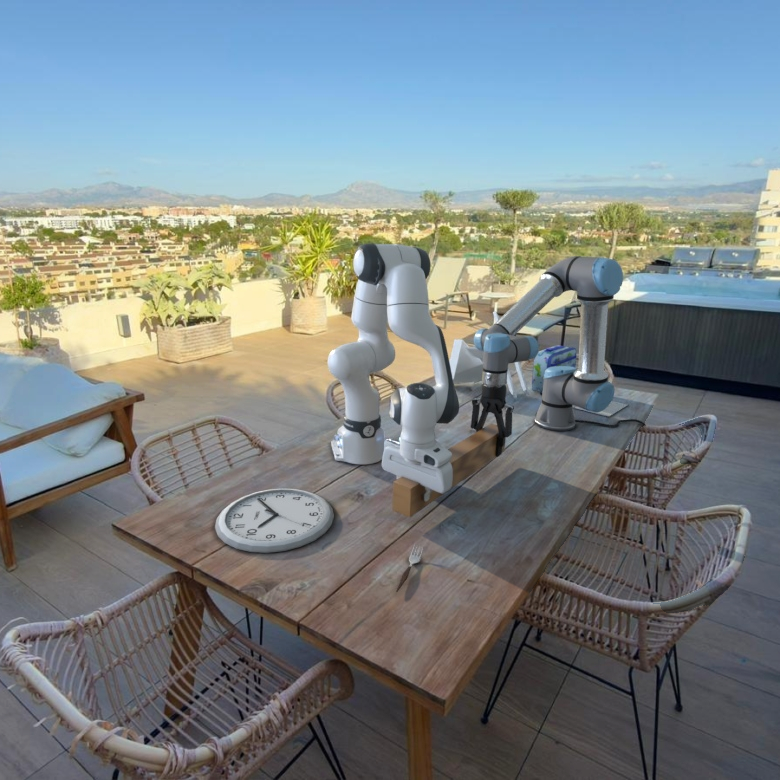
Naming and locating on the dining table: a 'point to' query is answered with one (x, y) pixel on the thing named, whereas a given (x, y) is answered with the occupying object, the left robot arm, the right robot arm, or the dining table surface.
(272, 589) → the dining table surface
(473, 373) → the white plastic object
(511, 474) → the dining table surface
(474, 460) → the post
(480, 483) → the dining table surface
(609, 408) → the invitation card
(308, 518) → the wall clock
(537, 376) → the lunch box
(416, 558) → the fork
